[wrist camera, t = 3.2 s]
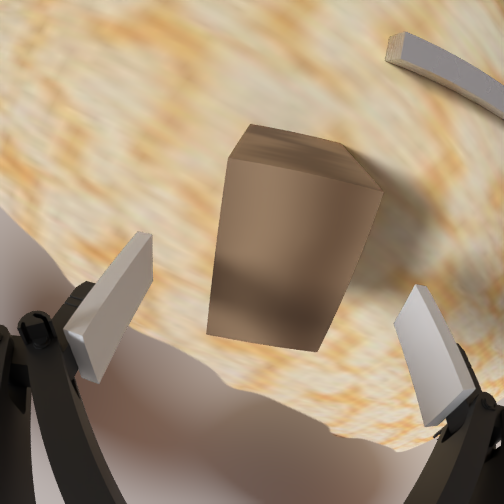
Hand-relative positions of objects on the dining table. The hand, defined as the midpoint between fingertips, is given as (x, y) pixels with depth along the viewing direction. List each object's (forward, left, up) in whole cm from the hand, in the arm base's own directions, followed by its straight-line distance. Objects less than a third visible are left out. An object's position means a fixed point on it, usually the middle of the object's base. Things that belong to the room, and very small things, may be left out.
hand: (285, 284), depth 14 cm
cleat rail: (+12, +13, -10) cm, 20 cm away
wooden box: (0, 0, -10) cm, 10 cm away
